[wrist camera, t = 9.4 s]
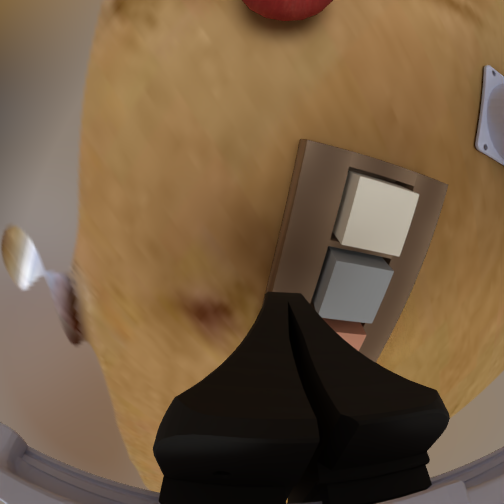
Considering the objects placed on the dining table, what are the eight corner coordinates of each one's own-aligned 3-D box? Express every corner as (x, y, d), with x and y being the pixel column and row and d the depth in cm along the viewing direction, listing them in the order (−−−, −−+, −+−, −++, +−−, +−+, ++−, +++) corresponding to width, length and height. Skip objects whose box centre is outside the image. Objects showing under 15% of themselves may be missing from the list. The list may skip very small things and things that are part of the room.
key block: (426, 176, 19) (448, 184, 16) (360, 352, 25) (368, 374, 22) (300, 138, 18) (307, 140, 15) (253, 340, 24) (253, 364, 22)
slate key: (379, 254, 19) (394, 271, 17) (361, 303, 21) (371, 323, 18) (327, 244, 19) (336, 260, 17) (311, 295, 21) (317, 317, 18)
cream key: (400, 185, 17) (419, 194, 15) (384, 241, 19) (399, 256, 16) (346, 169, 17) (360, 176, 15) (331, 229, 19) (341, 244, 16)
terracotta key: (356, 314, 21) (366, 335, 19) (339, 353, 23) (346, 374, 20) (307, 307, 21) (312, 329, 18) (293, 348, 22) (296, 371, 20)
